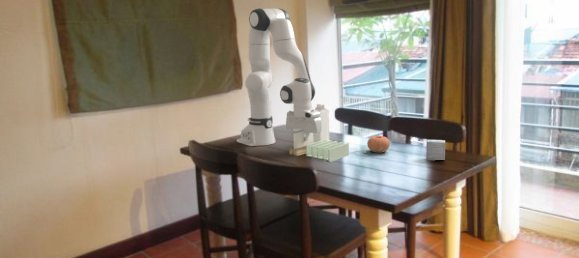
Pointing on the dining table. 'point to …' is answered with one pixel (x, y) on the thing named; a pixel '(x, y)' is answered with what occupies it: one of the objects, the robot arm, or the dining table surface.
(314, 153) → the rack
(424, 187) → the dining table surface
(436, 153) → the medicine box
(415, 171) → the dining table surface
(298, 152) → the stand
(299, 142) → the plate
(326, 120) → the milk
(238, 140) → the robot arm
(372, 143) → the orange rounded piece
